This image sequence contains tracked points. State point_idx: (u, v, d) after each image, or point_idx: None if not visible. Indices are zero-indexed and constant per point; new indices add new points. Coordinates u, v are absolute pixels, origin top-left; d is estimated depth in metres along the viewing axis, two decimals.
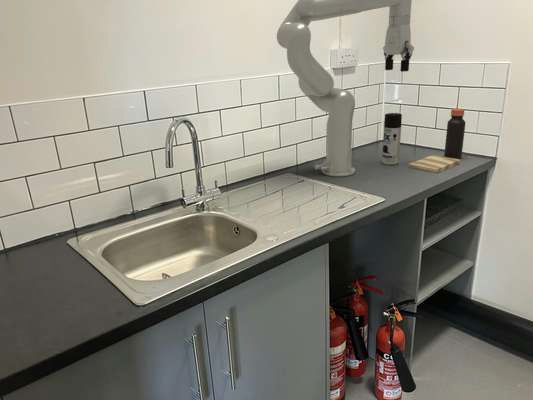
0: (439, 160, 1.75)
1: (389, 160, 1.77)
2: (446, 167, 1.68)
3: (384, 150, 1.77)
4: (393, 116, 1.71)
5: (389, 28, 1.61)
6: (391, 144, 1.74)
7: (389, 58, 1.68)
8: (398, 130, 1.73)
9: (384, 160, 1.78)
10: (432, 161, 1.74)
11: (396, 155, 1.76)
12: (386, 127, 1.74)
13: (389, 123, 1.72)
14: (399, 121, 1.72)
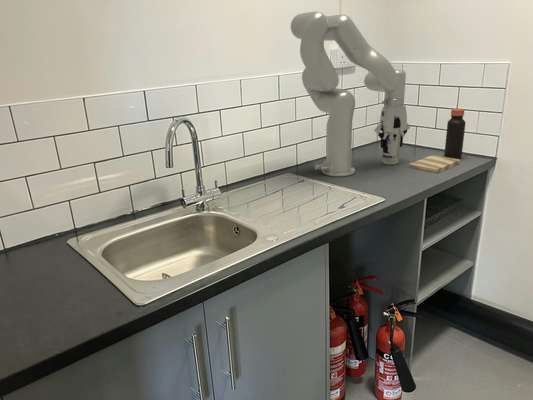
0: (439, 160, 1.75)
1: (389, 160, 1.77)
2: (446, 167, 1.68)
3: (384, 150, 1.77)
4: None
5: (392, 109, 1.70)
6: (391, 144, 1.74)
7: None
8: (398, 130, 1.73)
9: (384, 160, 1.78)
10: (432, 161, 1.74)
11: (396, 155, 1.76)
12: None
13: None
14: (399, 121, 1.72)
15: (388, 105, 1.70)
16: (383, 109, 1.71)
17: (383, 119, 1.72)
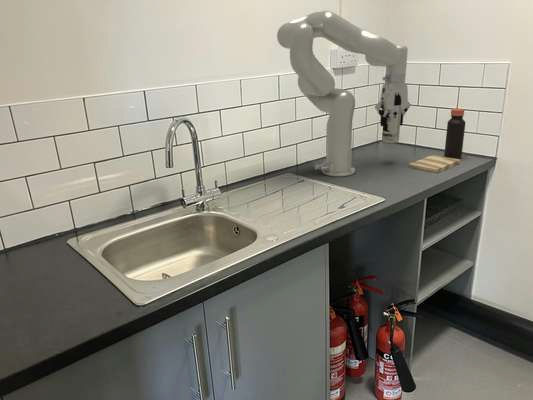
0: (439, 160, 1.75)
1: (389, 138, 1.73)
2: (446, 167, 1.68)
3: (384, 128, 1.74)
4: None
5: (393, 85, 1.66)
6: (391, 122, 1.71)
7: None
8: (399, 108, 1.69)
9: (384, 139, 1.75)
10: (432, 161, 1.74)
11: (396, 133, 1.73)
12: None
13: None
14: (400, 98, 1.69)
15: (389, 81, 1.66)
16: (384, 85, 1.68)
17: (384, 96, 1.68)
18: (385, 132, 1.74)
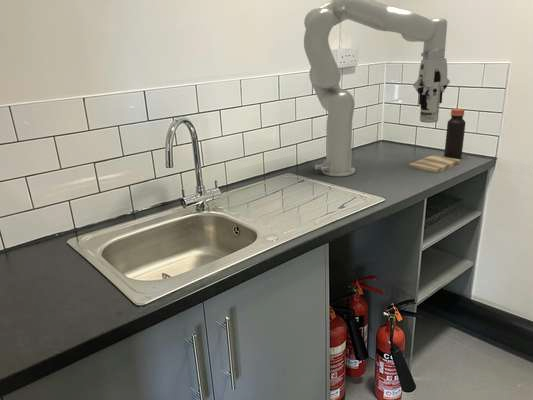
0: (439, 160, 1.75)
1: (428, 117, 1.66)
2: (446, 167, 1.68)
3: (423, 107, 1.67)
4: None
5: (433, 61, 1.59)
6: (431, 100, 1.64)
7: None
8: (438, 84, 1.62)
9: (423, 118, 1.68)
10: (432, 161, 1.74)
11: (436, 112, 1.66)
12: None
13: None
14: (439, 74, 1.61)
15: (428, 57, 1.59)
16: (422, 62, 1.61)
17: (423, 73, 1.61)
18: (424, 111, 1.66)
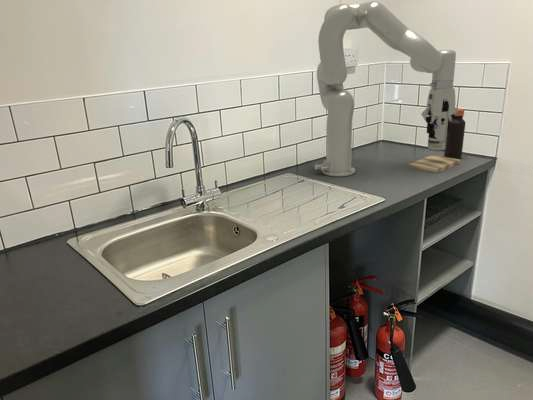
0: (439, 160, 1.75)
1: (436, 145, 1.68)
2: (446, 167, 1.68)
3: (430, 135, 1.69)
4: None
5: (441, 91, 1.61)
6: (439, 129, 1.66)
7: None
8: (446, 114, 1.64)
9: (430, 146, 1.70)
10: (432, 161, 1.74)
11: (443, 140, 1.68)
12: None
13: None
14: (448, 104, 1.64)
15: (437, 87, 1.61)
16: (431, 92, 1.63)
17: (431, 102, 1.63)
18: (432, 139, 1.69)
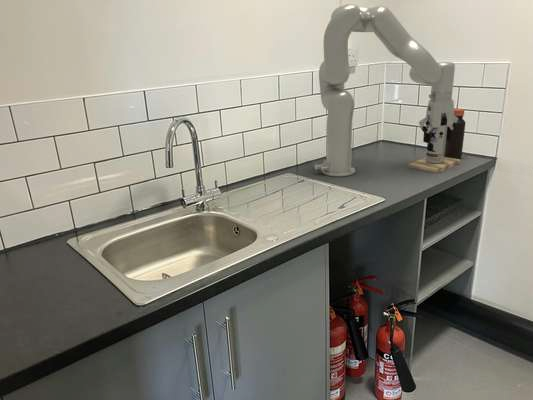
0: None
1: (434, 158, 1.70)
2: (446, 167, 1.68)
3: (429, 148, 1.71)
4: None
5: (440, 103, 1.63)
6: (437, 142, 1.68)
7: None
8: (445, 127, 1.66)
9: (428, 159, 1.72)
10: None
11: (442, 153, 1.70)
12: None
13: None
14: (446, 118, 1.65)
15: (436, 99, 1.63)
16: (430, 103, 1.65)
17: (430, 113, 1.65)
18: (430, 152, 1.70)
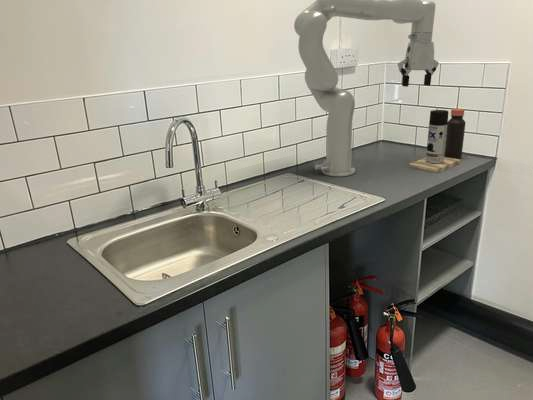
0: None
1: (434, 158, 1.70)
2: (446, 167, 1.68)
3: (429, 148, 1.71)
4: (440, 113, 1.64)
5: (419, 44, 1.59)
6: (437, 142, 1.68)
7: None
8: (444, 127, 1.66)
9: (428, 159, 1.72)
10: None
11: (441, 153, 1.70)
12: (432, 124, 1.67)
13: (436, 121, 1.66)
14: (446, 118, 1.65)
15: (415, 39, 1.60)
16: (409, 44, 1.61)
17: (409, 55, 1.61)
18: (430, 152, 1.70)
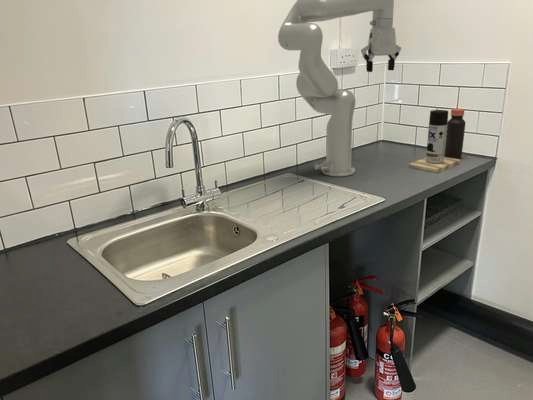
0: None
1: (434, 158, 1.70)
2: (446, 167, 1.68)
3: (429, 148, 1.71)
4: (440, 113, 1.64)
5: (381, 30, 1.64)
6: (437, 142, 1.68)
7: None
8: (444, 127, 1.66)
9: (428, 159, 1.72)
10: None
11: (441, 153, 1.70)
12: (432, 124, 1.67)
13: (436, 120, 1.66)
14: (446, 118, 1.65)
15: (376, 25, 1.64)
16: (371, 30, 1.66)
17: (371, 41, 1.66)
18: (430, 152, 1.71)
